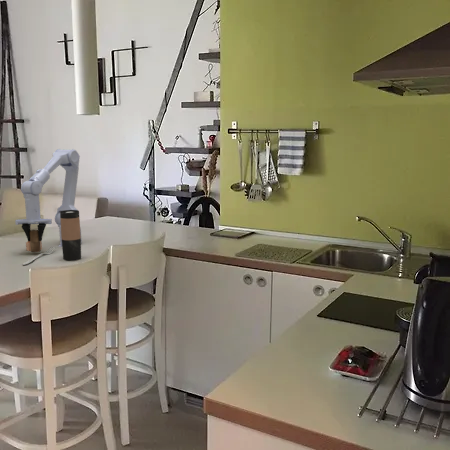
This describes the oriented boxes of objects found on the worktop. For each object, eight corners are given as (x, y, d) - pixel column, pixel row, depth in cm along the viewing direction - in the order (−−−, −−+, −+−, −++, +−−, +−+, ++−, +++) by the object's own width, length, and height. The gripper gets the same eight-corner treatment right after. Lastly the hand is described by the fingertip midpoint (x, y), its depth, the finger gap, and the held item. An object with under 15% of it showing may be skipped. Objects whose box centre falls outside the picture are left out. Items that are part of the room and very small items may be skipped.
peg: (41, 249, 231) (40, 229, 230) (39, 252, 227) (38, 231, 226) (32, 250, 231) (30, 229, 229) (29, 252, 227) (28, 231, 225)
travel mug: (83, 256, 226) (81, 209, 223) (79, 261, 219) (76, 212, 215) (65, 256, 226) (62, 209, 222) (60, 261, 218) (57, 212, 215)
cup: (43, 248, 241) (42, 240, 240) (39, 252, 235) (38, 243, 234) (29, 249, 240) (28, 240, 240) (25, 252, 234) (24, 243, 234)
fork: (19, 264, 212) (19, 260, 211) (50, 250, 235) (50, 246, 235) (27, 265, 211) (26, 260, 211) (57, 251, 235) (57, 247, 234)
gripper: (12, 211, 221) (14, 243, 224) (48, 210, 222) (50, 242, 225) (17, 208, 228) (19, 239, 231) (52, 208, 229) (54, 239, 232)
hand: (35, 240), depth 228 cm, fingers closed on peg, 4 cm apart
